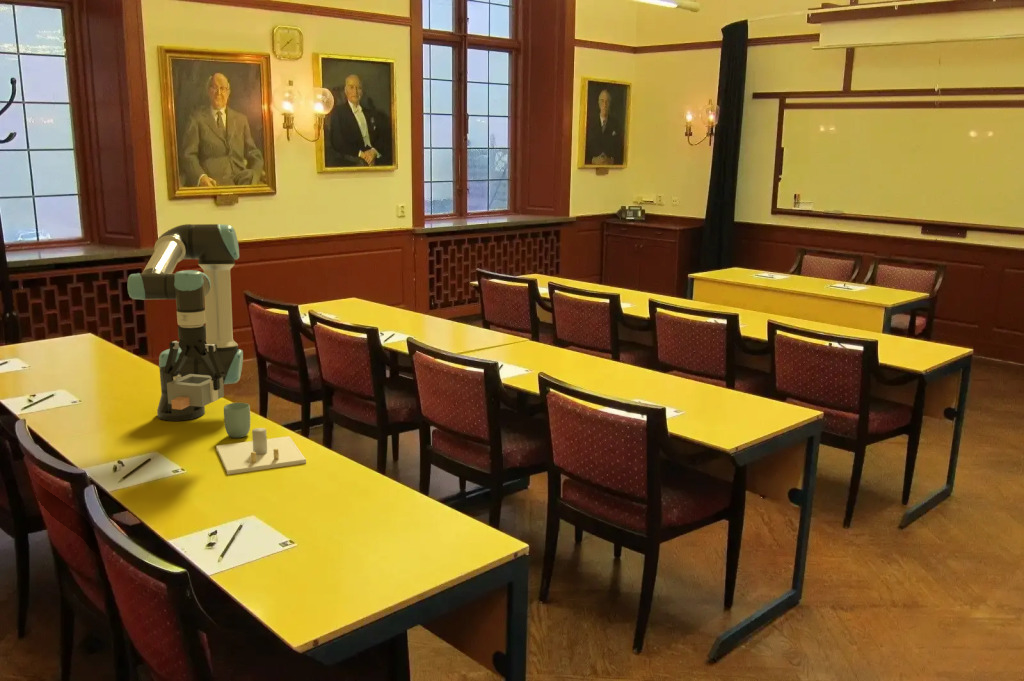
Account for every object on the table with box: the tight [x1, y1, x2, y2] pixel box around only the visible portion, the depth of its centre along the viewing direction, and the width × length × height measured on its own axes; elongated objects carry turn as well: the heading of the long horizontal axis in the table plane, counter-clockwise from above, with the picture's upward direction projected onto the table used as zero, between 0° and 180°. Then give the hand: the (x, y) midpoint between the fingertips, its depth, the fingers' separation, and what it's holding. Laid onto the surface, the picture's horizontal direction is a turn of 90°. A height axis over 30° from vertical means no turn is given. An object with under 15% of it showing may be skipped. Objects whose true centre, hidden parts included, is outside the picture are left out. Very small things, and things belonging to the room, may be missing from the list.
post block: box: [216, 427, 307, 476], centre depth 249 cm, size 22×22×8 cm
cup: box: [223, 402, 252, 439], centre depth 265 cm, size 8×8×10 cm
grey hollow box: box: [167, 374, 225, 410], centre depth 241 cm, size 15×11×6 cm
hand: (196, 399), depth 243 cm, fingers closed on grey hollow box, 11 cm apart
